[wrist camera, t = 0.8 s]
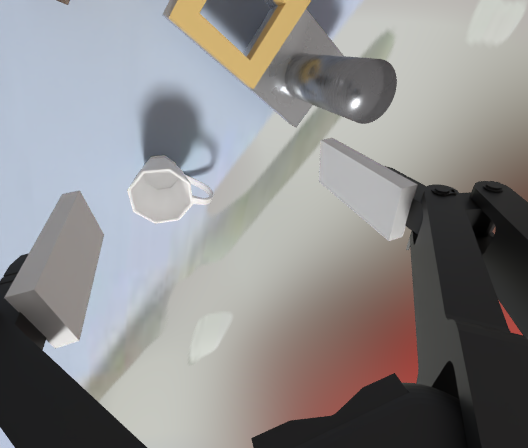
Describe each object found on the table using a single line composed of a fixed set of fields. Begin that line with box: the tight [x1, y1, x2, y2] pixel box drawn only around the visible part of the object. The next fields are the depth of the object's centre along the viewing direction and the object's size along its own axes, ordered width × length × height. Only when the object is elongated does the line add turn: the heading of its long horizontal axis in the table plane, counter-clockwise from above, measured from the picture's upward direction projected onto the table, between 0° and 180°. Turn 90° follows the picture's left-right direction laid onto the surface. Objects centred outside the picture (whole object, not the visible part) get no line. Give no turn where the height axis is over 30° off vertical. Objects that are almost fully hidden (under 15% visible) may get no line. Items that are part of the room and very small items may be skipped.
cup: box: [127, 155, 213, 224], centre depth 34 cm, size 7×10×8 cm
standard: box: [163, 0, 397, 127], centre depth 24 cm, size 18×9×18 cm, turn 51°
